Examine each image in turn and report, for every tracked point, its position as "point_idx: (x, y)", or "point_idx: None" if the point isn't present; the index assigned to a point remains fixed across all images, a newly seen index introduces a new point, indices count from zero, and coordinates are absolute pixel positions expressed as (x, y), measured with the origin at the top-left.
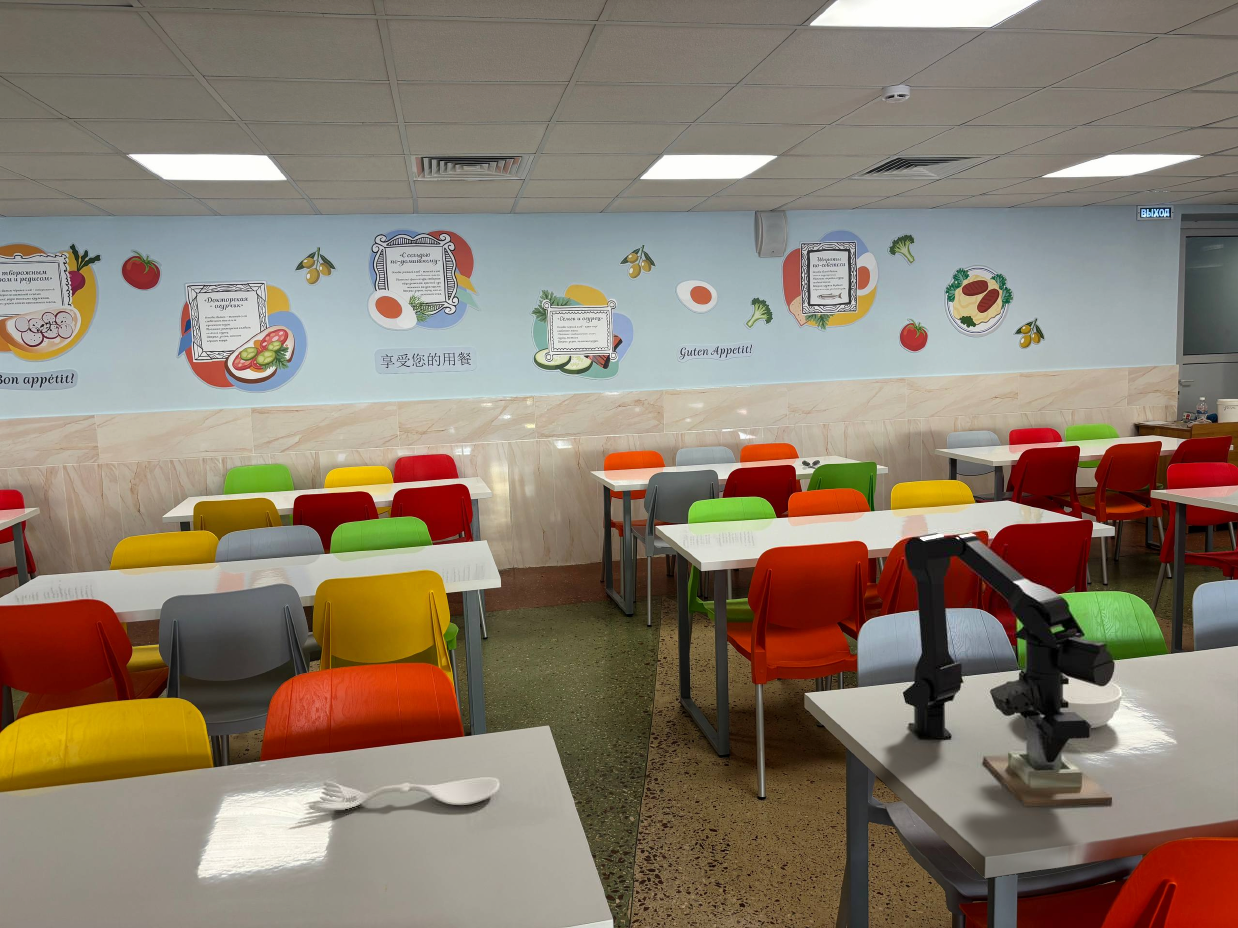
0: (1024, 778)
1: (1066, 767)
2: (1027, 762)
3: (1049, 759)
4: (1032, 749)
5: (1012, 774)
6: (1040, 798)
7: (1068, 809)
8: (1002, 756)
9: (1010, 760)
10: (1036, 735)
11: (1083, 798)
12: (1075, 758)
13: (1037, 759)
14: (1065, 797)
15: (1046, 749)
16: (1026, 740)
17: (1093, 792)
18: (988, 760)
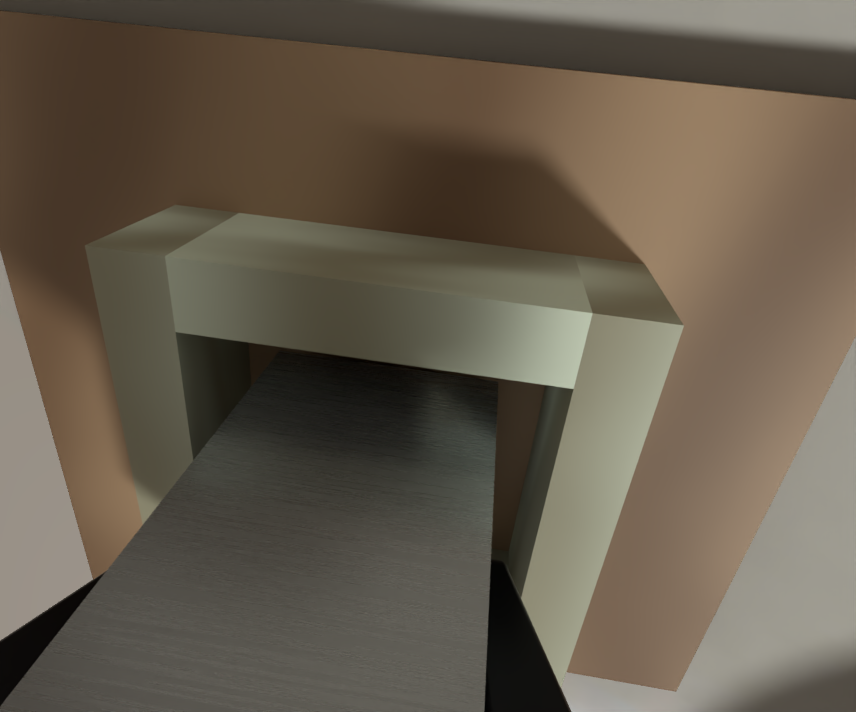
0: (296, 228)
1: None
2: (472, 397)
3: None
4: (316, 517)
5: (452, 189)
6: (8, 176)
7: (4, 314)
8: (834, 315)
9: (604, 282)
10: None
11: (63, 456)
12: (630, 705)
13: (217, 447)
14: (55, 365)
15: (44, 621)
16: (485, 591)
17: None
18: (835, 113)
